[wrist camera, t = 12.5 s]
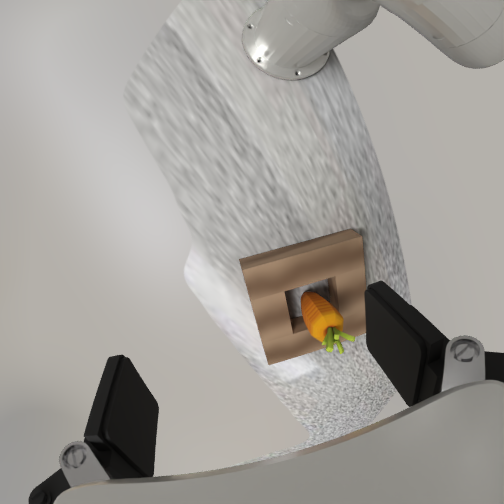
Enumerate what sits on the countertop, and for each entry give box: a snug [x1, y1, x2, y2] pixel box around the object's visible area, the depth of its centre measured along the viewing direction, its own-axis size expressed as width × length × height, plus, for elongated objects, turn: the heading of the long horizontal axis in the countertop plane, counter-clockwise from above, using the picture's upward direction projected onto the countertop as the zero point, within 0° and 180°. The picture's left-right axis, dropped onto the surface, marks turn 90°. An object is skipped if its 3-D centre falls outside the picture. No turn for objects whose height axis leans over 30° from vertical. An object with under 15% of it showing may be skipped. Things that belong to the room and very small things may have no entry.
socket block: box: [239, 229, 366, 365], centre depth 47 cm, size 18×18×4 cm
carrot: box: [301, 292, 355, 354], centre depth 42 cm, size 5×5×15 cm
